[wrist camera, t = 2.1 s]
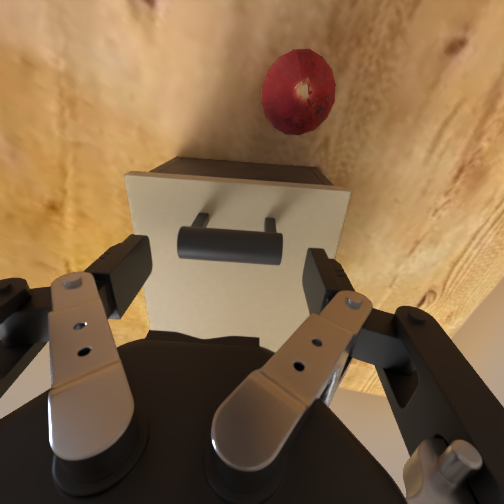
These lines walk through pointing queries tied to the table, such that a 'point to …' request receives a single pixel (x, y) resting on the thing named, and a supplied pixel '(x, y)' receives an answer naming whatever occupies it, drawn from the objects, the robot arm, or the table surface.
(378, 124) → the table surface
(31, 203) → the table surface
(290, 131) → the onion
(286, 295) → the storage bin lid
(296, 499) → the robot arm
